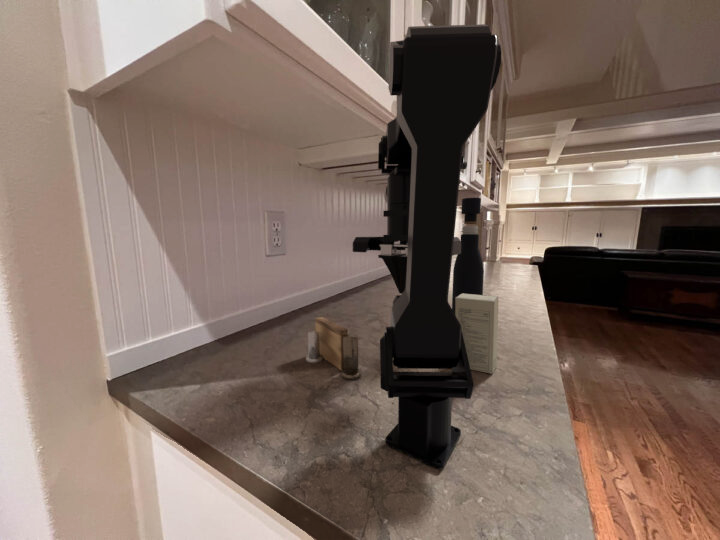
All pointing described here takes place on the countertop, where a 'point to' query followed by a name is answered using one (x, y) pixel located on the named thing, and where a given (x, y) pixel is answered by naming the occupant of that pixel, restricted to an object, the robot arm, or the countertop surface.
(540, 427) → the countertop surface
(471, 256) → the wine bottle
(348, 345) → the hinge post
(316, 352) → the post
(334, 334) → the gate
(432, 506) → the countertop surface
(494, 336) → the skincare box
